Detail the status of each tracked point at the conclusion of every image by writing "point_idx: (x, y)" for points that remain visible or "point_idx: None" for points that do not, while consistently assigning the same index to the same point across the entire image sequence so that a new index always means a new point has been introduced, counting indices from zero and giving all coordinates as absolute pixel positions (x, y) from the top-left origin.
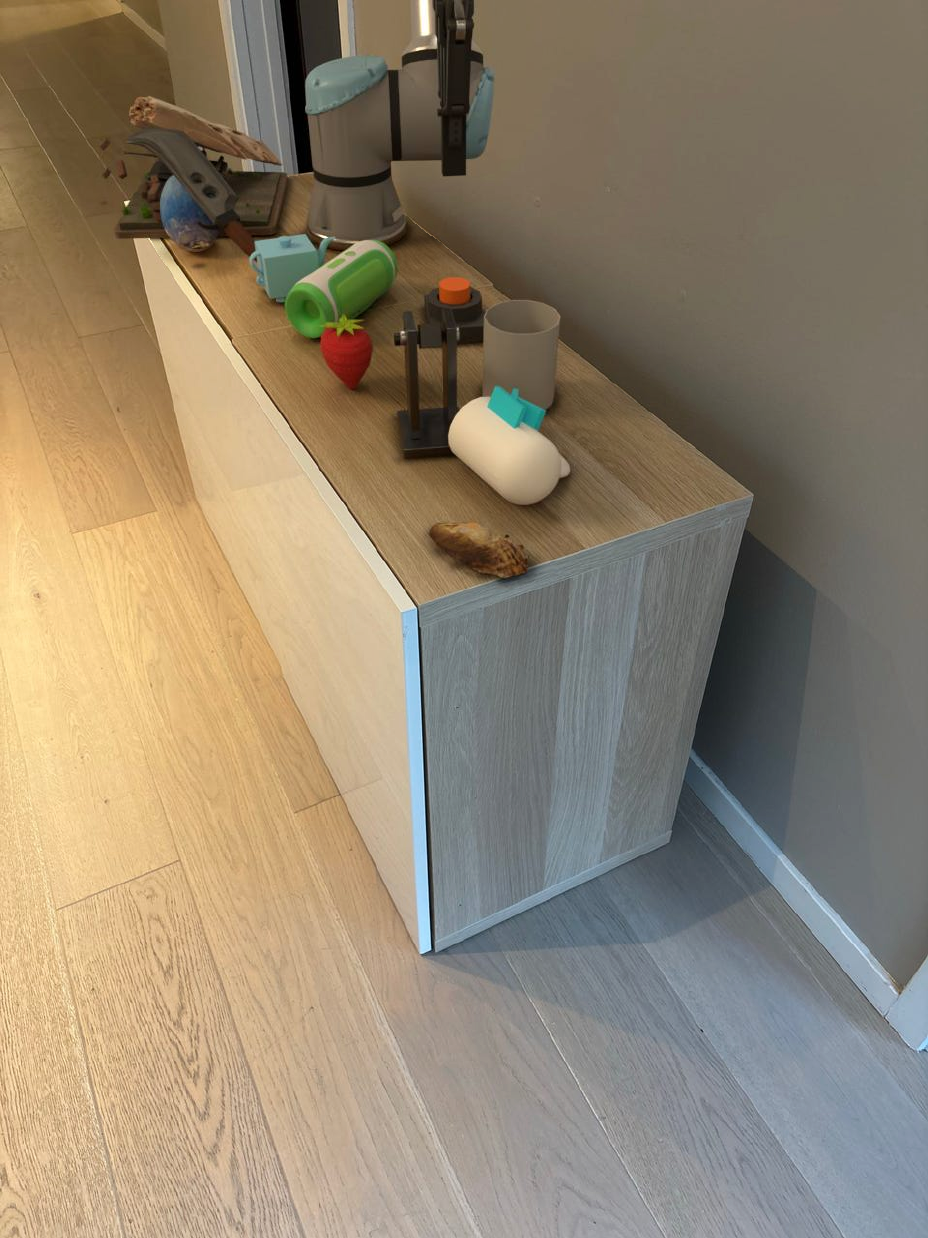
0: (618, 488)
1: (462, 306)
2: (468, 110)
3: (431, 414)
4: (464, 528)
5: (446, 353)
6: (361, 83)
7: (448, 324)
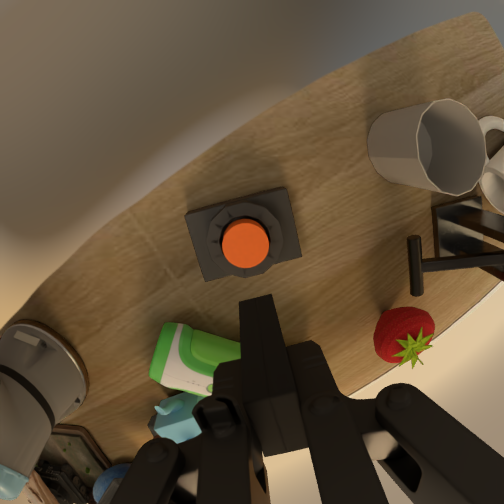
0: (494, 84)
1: (276, 226)
2: (417, 388)
3: (447, 232)
4: None
5: None
6: None
7: None
